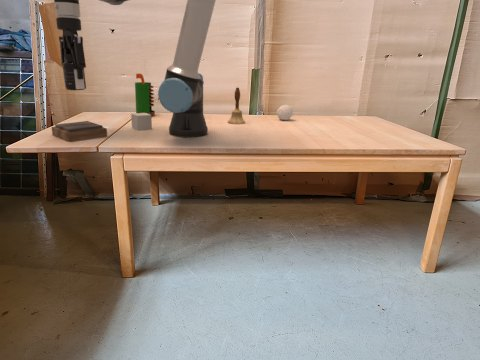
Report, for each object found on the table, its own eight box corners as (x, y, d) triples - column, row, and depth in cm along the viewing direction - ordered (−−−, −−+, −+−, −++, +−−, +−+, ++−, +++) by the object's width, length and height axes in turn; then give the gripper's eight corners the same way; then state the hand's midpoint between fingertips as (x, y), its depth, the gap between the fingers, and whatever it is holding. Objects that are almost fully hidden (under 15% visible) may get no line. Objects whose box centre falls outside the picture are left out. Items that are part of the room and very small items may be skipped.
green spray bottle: (156, 117, 179) (154, 74, 173) (137, 117, 176) (135, 74, 169) (153, 113, 188) (151, 73, 182) (135, 114, 185) (132, 72, 178)
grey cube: (132, 128, 153) (131, 113, 151) (145, 127, 156) (144, 112, 154) (138, 130, 148) (137, 115, 146) (151, 129, 152) (151, 114, 150)
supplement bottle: (72, 88, 135) (68, 53, 131) (90, 89, 134) (86, 54, 130) (61, 89, 129) (56, 53, 125) (79, 90, 128) (75, 54, 124)
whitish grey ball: (288, 118, 188) (289, 103, 185) (295, 121, 181) (296, 105, 178) (273, 119, 185) (274, 103, 182) (280, 121, 178) (281, 105, 176)
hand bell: (248, 123, 171) (249, 88, 166) (232, 124, 167) (233, 88, 162) (240, 120, 178) (241, 86, 173) (224, 121, 174) (225, 86, 169)
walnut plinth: (107, 136, 136) (106, 125, 135) (69, 141, 127) (67, 130, 125) (89, 130, 145) (88, 120, 144) (52, 135, 135) (51, 124, 134)
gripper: (45, 17, 128) (53, 85, 135) (69, 15, 115) (77, 91, 122) (67, 19, 133) (74, 85, 140) (92, 17, 120) (98, 90, 127)
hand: (75, 87), depth 131 cm, fingers closed on supplement bottle, 7 cm apart
